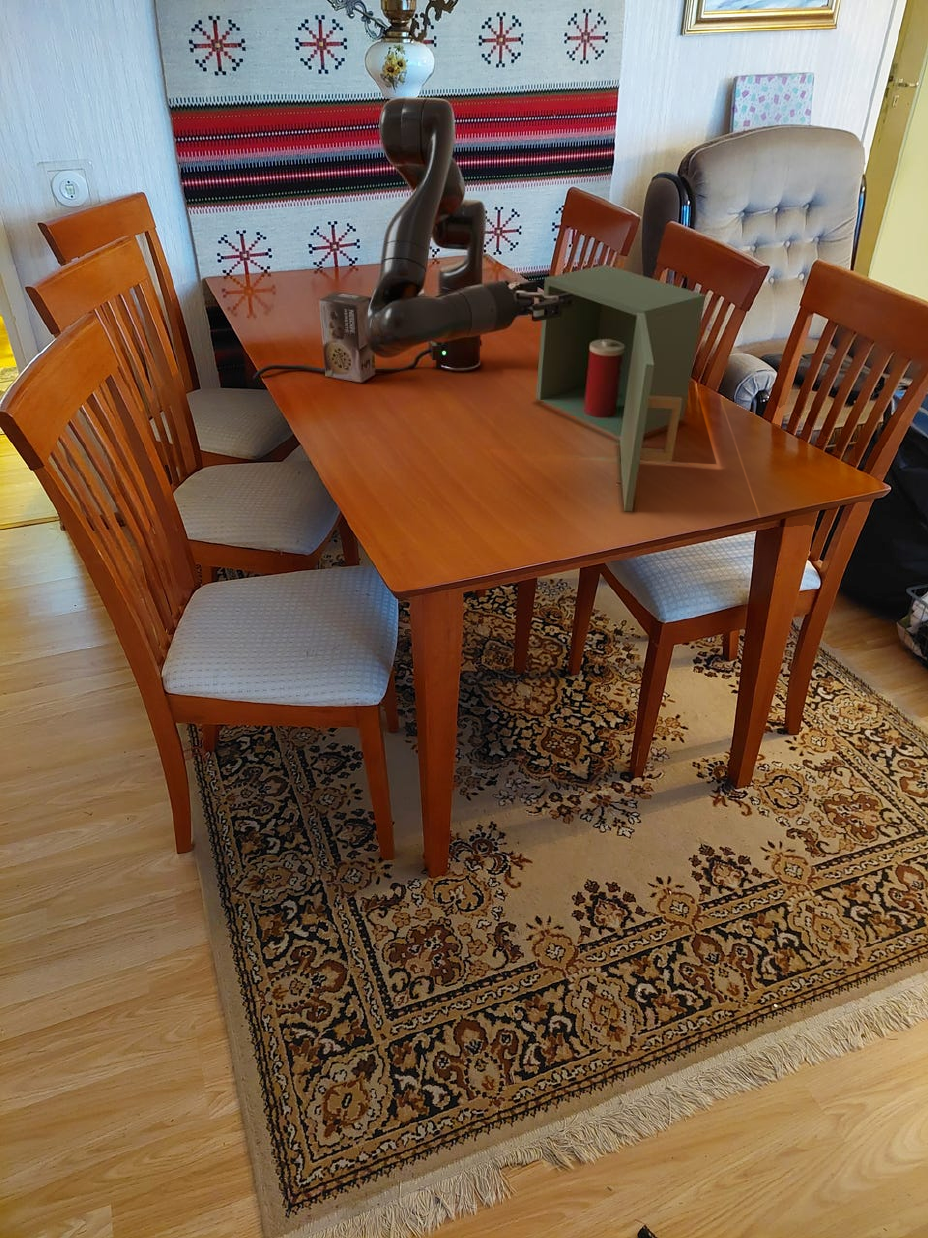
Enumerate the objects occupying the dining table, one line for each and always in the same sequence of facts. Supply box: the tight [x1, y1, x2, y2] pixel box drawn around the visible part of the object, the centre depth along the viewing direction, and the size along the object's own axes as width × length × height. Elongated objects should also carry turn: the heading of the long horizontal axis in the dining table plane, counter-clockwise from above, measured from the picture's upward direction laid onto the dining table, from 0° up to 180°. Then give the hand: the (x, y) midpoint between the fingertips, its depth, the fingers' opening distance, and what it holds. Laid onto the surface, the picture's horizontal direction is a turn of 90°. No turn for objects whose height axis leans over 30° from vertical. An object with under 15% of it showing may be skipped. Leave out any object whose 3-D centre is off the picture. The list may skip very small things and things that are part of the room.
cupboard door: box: [619, 313, 682, 512], centre depth 144 cm, size 6×24×24 cm, turn 174°
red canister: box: [583, 339, 625, 418], centre depth 167 cm, size 6×6×14 cm
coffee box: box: [318, 291, 376, 384], centre depth 182 cm, size 9×6×16 cm
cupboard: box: [535, 264, 706, 438], centre depth 166 cm, size 16×24×24 cm, turn 39°
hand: (553, 292), depth 149 cm, fingers open, 8 cm apart
